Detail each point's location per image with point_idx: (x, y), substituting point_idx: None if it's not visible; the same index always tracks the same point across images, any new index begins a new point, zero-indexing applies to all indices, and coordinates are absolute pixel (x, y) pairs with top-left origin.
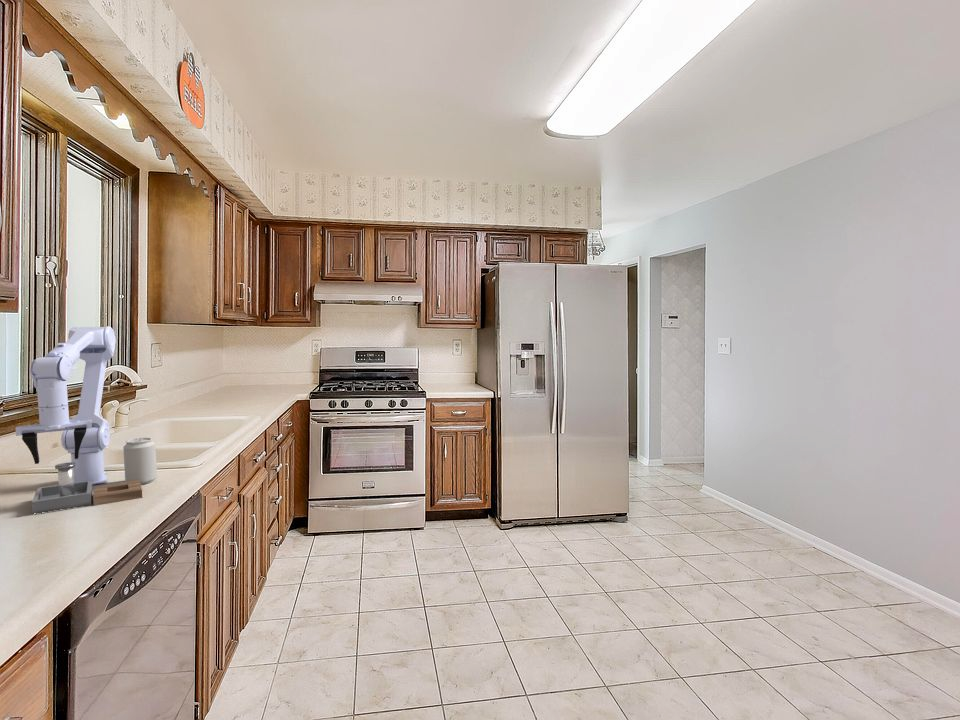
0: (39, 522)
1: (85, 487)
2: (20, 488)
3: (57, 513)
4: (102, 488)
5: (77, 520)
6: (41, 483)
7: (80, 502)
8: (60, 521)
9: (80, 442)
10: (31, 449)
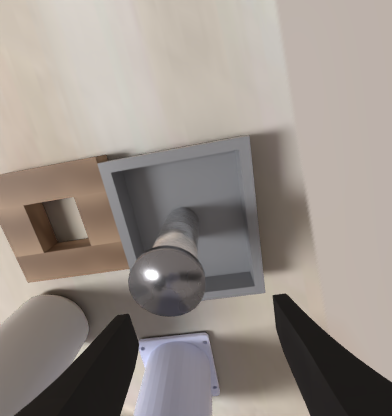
0: (206, 41)
1: None
2: None
3: (180, 118)
4: (101, 243)
5: (102, 5)
6: (277, 392)
7: (132, 156)
8: (149, 20)
9: (35, 399)
10: (345, 358)
